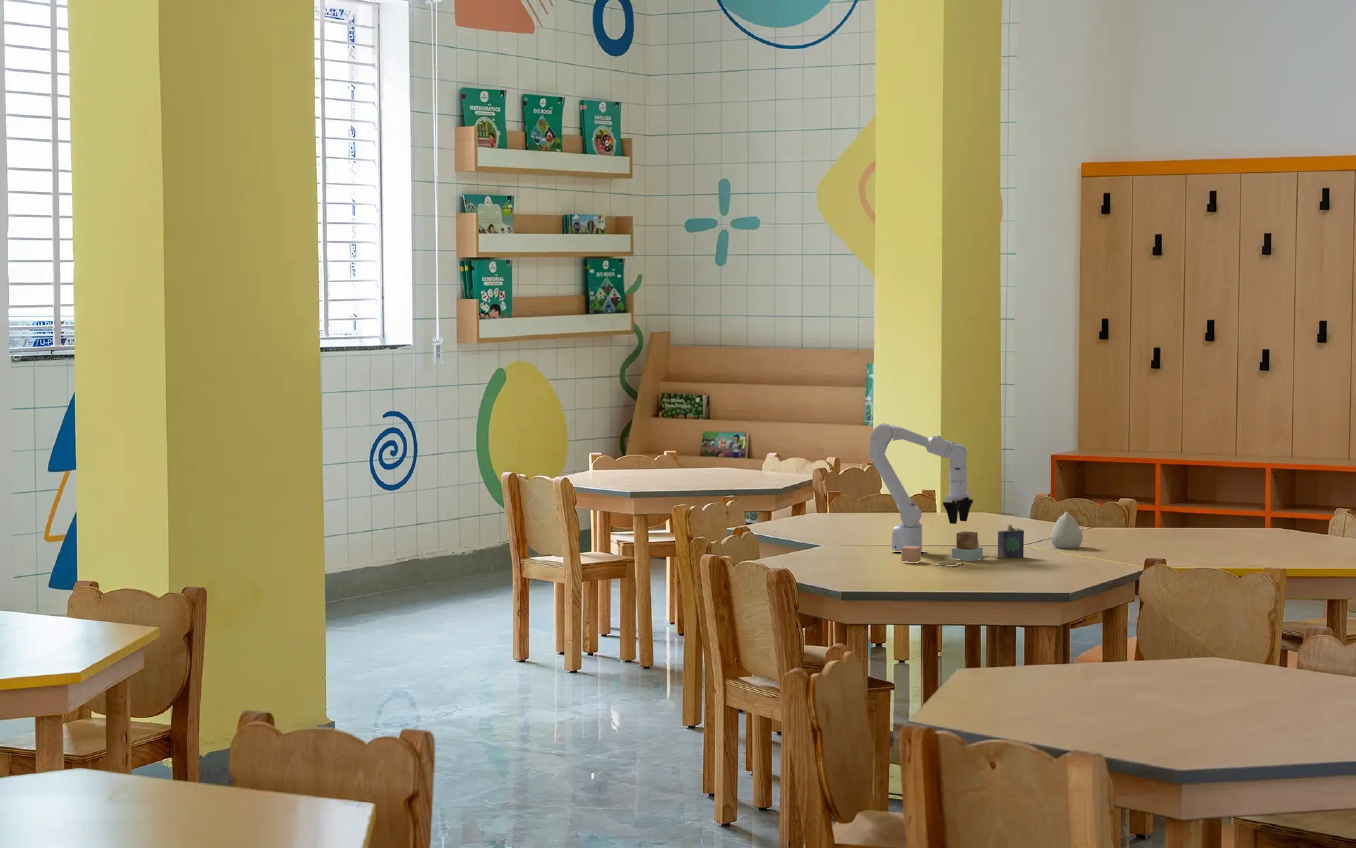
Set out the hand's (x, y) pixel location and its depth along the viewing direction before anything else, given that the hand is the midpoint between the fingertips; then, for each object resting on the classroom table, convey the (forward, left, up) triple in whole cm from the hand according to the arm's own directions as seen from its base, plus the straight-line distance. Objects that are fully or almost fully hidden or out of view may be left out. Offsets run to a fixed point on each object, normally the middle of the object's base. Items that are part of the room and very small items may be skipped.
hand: (958, 522), depth 476 cm
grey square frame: (+8, -23, -10) cm, 27 cm away
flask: (+18, +1, -11) cm, 21 cm away
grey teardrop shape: (+24, +33, -11) cm, 42 cm away
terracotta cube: (-4, -25, -11) cm, 28 cm away
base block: (+8, -10, -11) cm, 17 cm away
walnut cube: (+8, -10, -7) cm, 15 cm away
